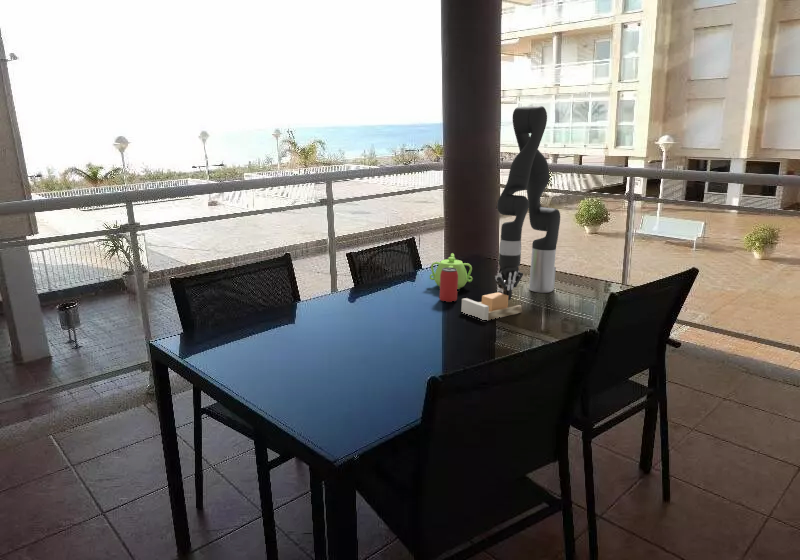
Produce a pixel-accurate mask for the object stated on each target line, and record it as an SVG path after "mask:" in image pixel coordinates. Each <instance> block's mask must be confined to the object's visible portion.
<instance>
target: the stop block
mask: <svg viewBox="0 0 800 560" xmlns="http://www.w3.org/2000/svg"><path fill="white" fill-rule="evenodd" d="M479 302H480V301H476V300H473V299H471V298H468V297H466V298H461V309H460V311H461V312H463V313H462V314H464V313H465V314H464V315H466V314H468V315H467V316H469V315H472V316H475V317H478V318H480V319H482V320H487V321H489V320H488V314H489V306H487V305H484V304H481V303H479ZM482 320H481V321H482Z"/></svg>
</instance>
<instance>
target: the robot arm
mask: <svg viewBox="0 0 800 560" xmlns="http://www.w3.org/2000/svg"><path fill="white" fill-rule="evenodd" d="M547 121H548V112H547V110H546V108H545V107H544V106H542V105H530V106H529V105H527V106H524V105H523V106H518V107H516V108H515V109H514V110H513V113H512V125H513V130H514V135H515V138H516V142H517V146H518V149H519V153H518V154H517V155H516V156H515V157H514V159H513V161H512V163H511V165H510V167H509V168H510V169H509V173H508V178H507V182H506V184H505V186H504V189H503V190H502V192H501V194H500V196H499V198H498V199H497V203H496V208H497V212H498V213H499V214H500V215H501V216H502V215H503V216H514V217H515V219H514V220H513V221H512V220H511V221H506V222H503V223H502V224H501V228H500V229H501V230H500V241H499V247H498V249H499V250H498V251H499V252H498V265H499V270H498V274H497V275H493V279H494V282H495V283H496V284H497V286H498V288H499V289H502V290H503V293H502V294H505V295H508V301H511V300H512V296H513V295H512V294H513V289H514V288H517V286H518V285H519V283H520V282H521V280H522V277H523V276H524V273H523V272H521V271H520V268H519V267H520V266H521V259H522V232H523V227H524V222H525V219H526V216H527V214H528V218H529V224H530V226H531V228H532V229H533V230H535V231H540V232H546V233H545V236H544V237H541V238H536V239H534V240H533V241H532V244H531V257H530V259H531V260H530V261H531V262H530V273H529V286H528V289H529V291H532V292H535V293H543V294H546V293H547V294H548V293H552V292H553V291H554V290H555V284H556V283H555V282H556V269H557V267H556V266H555V264H556V253H557V245H558V240H559V239H558V238H559V233H560V232H559V231H560V227H561V226H560V224H561V212H560V210H559V209H558V208H555V207H554V208H553V207H545V206H544V207H543V206H542V205H541V197H542V195H543V193H544V191H545V190H546V189H547V187H548V185H549V183H550V170H549V163H548V161H547V159H546V157H545V156H544V154H543V153H542V152H541V150H539V148H540V147H539V146H540V144H541V142H542V140H543V139H542V138H543V136H544V134H545V133H544V132H545V130H546V126H547ZM520 191H521V192H522V191H526V193H527V196H526V195H525V196H524V195H521V194H520V195H519V194H518V195H516V194H515V193H517V192H520Z"/></svg>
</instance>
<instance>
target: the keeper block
mask: <svg viewBox="0 0 800 560" xmlns="http://www.w3.org/2000/svg"><path fill="white" fill-rule="evenodd" d="M481 302H482V304H484V305H487V306H489V312H490V311H494V310H499V309H503V308H508V307H509V300H508V295H505V294H503V293H501V292H494V293H493V292H492V293H488V294H484V295H481Z"/></svg>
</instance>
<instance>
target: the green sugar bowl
mask: <svg viewBox="0 0 800 560" xmlns="http://www.w3.org/2000/svg"><path fill="white" fill-rule="evenodd" d="M435 265H437V267H436V268H435V269H436V270H435V269H434V266H435ZM465 266H466V267H469V271H468V273H467V269H466V267H465ZM443 268H455V269H457V273H458V289H461V288H464V287H465V285H466V284H467V282H468V283H471V282H472V281H473V276H471V273H472V270H473V267H472V265H471V264H470V263H468V262H467V263H466V262H464V263H463V261H462V260H459V259H456V257H455V254H454V253H453V252H452V253H450V256H449V257H447V259H442V260H440V261H433V262H432V263H431V264H430V270H431V274H430V275H429V279H430V280H431V281H434V283H435V284H436V285H437V286H438V287H440V274H441V271H442V269H443Z"/></svg>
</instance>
